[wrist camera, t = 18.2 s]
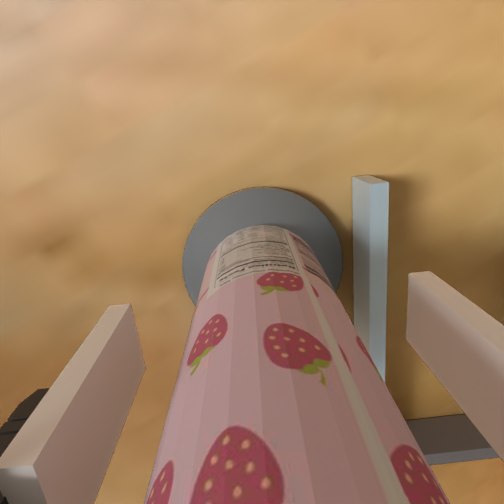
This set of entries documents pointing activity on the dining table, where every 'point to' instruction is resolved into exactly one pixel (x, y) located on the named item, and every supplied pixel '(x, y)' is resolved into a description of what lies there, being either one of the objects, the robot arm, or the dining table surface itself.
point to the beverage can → (281, 393)
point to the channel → (374, 323)
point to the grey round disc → (253, 214)
